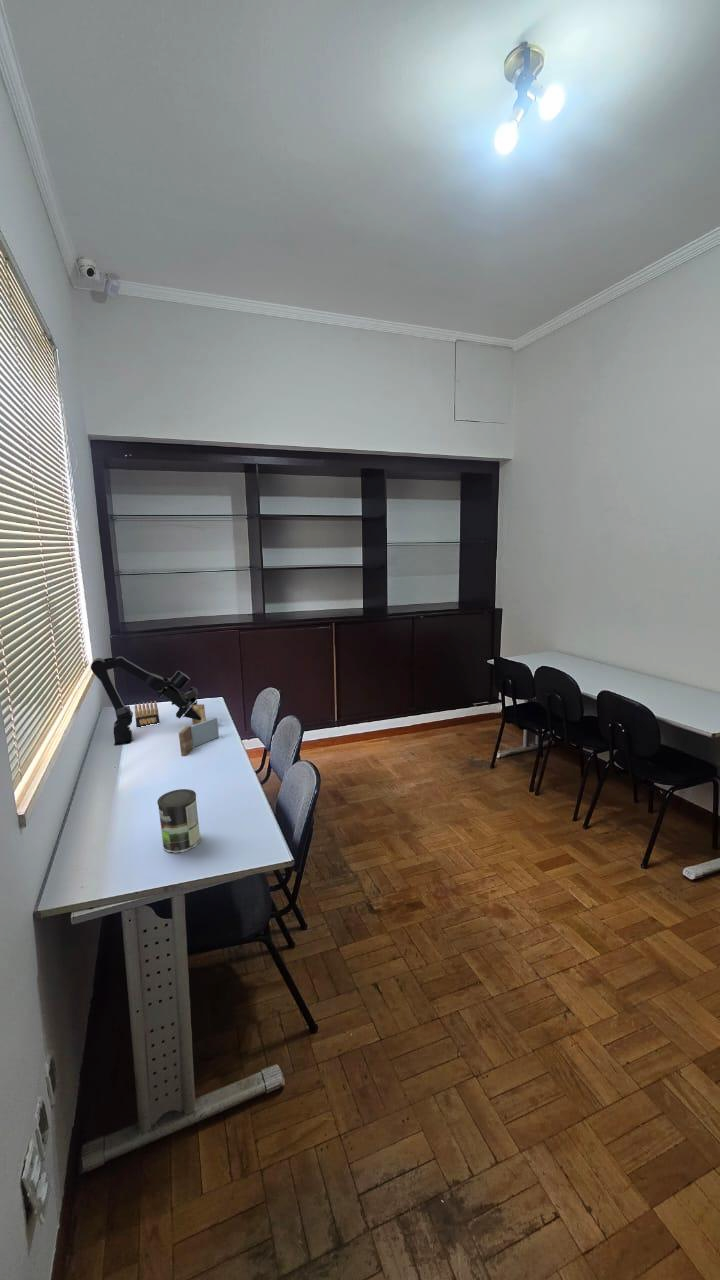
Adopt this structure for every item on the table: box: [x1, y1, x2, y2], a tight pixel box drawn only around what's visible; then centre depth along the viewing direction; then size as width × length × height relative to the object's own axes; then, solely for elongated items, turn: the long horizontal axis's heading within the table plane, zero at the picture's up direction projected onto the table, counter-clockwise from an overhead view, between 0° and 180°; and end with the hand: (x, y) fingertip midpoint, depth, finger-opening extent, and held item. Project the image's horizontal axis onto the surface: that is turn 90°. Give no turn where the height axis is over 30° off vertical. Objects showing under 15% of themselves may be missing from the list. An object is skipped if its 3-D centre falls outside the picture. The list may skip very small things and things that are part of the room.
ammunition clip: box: [134, 700, 161, 728], centre depth 249 cm, size 11×2×12 cm, turn 113°
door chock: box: [191, 703, 207, 725], centre depth 237 cm, size 5×4×12 cm
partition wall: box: [178, 725, 194, 757], centre depth 213 cm, size 2×8×10 cm, turn 177°
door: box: [190, 717, 220, 748], centre depth 223 cm, size 1×13×9 cm, turn 142°
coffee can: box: [157, 788, 201, 854], centre depth 146 cm, size 10×10×14 cm
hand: (201, 717), depth 237 cm, fingers open, 4 cm apart
